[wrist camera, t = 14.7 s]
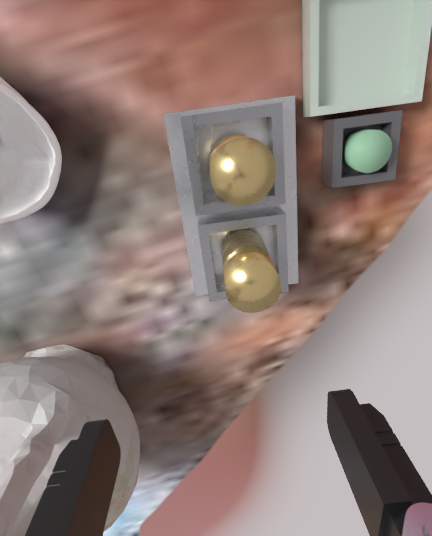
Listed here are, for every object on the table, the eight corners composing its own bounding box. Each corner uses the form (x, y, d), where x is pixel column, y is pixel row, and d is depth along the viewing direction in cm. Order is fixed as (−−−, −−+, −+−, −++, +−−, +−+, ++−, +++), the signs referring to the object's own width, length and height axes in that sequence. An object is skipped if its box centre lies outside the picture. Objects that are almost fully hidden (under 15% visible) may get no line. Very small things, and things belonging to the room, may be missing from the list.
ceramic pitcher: (-7, 273, 31) (-634, 649, 9) (181, 323, 33) (57, 768, 10) (-4, 419, 40) (-314, 796, 17) (144, 454, 41) (33, 850, 19)
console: (322, 119, 25) (334, 119, 23) (385, 111, 25) (402, 110, 23) (321, 182, 27) (332, 188, 25) (379, 175, 27) (395, 179, 25)
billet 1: (205, 137, 24) (205, 143, 18) (256, 129, 24) (273, 132, 18) (213, 188, 26) (215, 210, 20) (260, 181, 26) (278, 200, 20)
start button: (341, 132, 24) (352, 132, 22) (380, 126, 24) (394, 127, 22) (339, 171, 26) (350, 175, 24) (376, 166, 25) (389, 170, 24)
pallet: (165, 114, 25) (159, 113, 22) (291, 96, 24) (302, 92, 22) (196, 289, 32) (194, 306, 29) (295, 277, 31) (304, 293, 28)
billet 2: (219, 232, 28) (222, 266, 21) (264, 227, 28) (281, 260, 21) (223, 272, 29) (228, 315, 23) (266, 268, 29) (282, 309, 23)
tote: (301, -13, 22) (310, -26, 20) (421, -32, 21) (441, -46, 20) (302, 117, 25) (310, 116, 23) (406, 102, 25) (421, 101, 23)
